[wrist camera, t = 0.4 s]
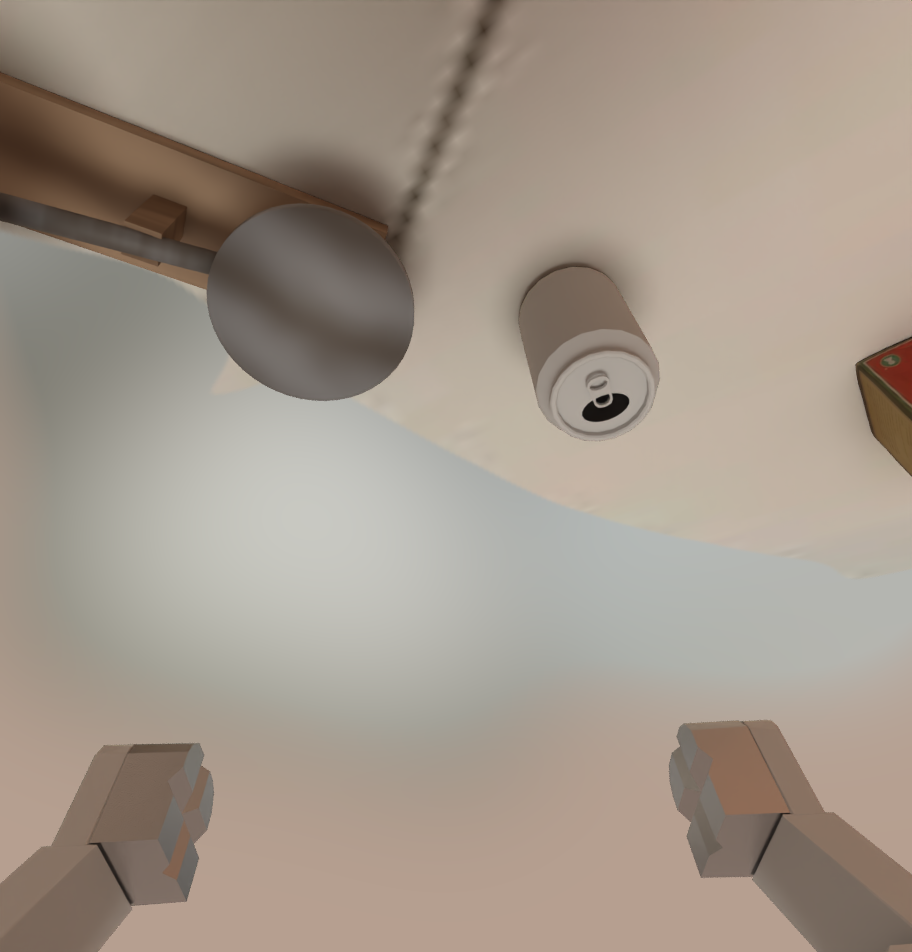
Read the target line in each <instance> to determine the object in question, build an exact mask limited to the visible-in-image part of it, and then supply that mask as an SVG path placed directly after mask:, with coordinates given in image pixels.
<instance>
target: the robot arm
mask: <svg viewBox="0 0 912 952" xmlns="http://www.w3.org/2000/svg"><path fill="white" fill-rule="evenodd" d="M677 739H678V742H679V744H680V747H679V748H678V749H676V750H675V751H674V752H673V753H672V755H671V759H670V763H669V774H670V775H669V777H670V785H671V790H672V794H673V798H674V801H675V803H676V807H677V810H679V812H680V813H681V814H683V815H684V816H685V817H686V818H687V819H688V820H689V821H690V822H691V825H690V827H689V831H688V834H687V839H688V842H689V844H690V848H691V850H692V853H693V856H694V859H695V862H696V865H697V867H698V870H699V873H700V876H701V878H703V877H704V878H705V877H753V879H752V880H753V881H754V882H755V883H756V884H757V885H758V887H759V888H760V889H761V890H762V891H763V892H764V893H765V894H766V895H767V897H768V898H769V899H770V900H771V901H772V902H773V903H774V904H775V905H776V907H777V908H778V909H779V910H780V911H781V912H782V913H783V914H784V915H785V916H786V918H787V919H788V920H789V921H790V922H791V923H792V924H793V925H794V926H795V928H796V929H797V930H798V931H799V932H800V933H801V934H802V935H803V936H804V938H806V940H807V941H808V942H809V943H810V944H811V945H812V946H813V948H814V949H816V951H817V952H912V875H911V874H910V873H909V872H908V871H907V870H905V869H904V868H903V867H902V866H900V865H899V864H898V863H897V862H895V861H894V860H893V859H892V858H890V857H889V856H888V855H887V854H885V853H884V852H883V851H882V850H880V849H879V848H878V847H876V846H875V845H874V844H873V843H872V842H870V841H869V840H868V839H867V838H865V837H864V836H863V835H861V834H860V833H859V832H858V831H856V830H855V829H854V828H852V826H850V825H849V824H848V823H847V822H845V821H844V820H843V819H841V818H840V817H839V816H838V815H836V814H835V813H833V812H832V813H831V812H830V813H829V812H828V813H827V812H824V810H823V808H822V806H821V804H820V803H819V801H818V799H817V797H816V795H815V793H814V792H813V790H812V788H811V786H810V784H809V782H808V781H807V779H806V777H805V775H804V773H803V772H802V770H801V768H800V766H799V764H798V762H797V760H796V759H795V757H794V755H793V753H792V751H791V750H790V748H789V746H788V744H787V742H786V741H785V739H784V737H783V735H782V733H781V731H780V729H779V728H778V726H777V725H776V724H775V723H774V722H772V721H770V720H757V721H720V722H705V723H704V722H703V723H685V724H683V725H681V726H680V727H679V730H678V734H677ZM203 757H204V753H203V751H202V748H201V746H200V744H199V743H178V744H177V743H176V744H128V745H104V746H103V747H102V748H101V749H100V750H99V752H98V753H97V754H96V755H95V756H94V758H93V760H92V762H91V764H90V767H89V769H88V771H87V773H86V775H85V777H84V779H83V781H82V783H81V785H80V787H79V789H78V791H77V794H76V796H75V798H74V800H73V802H72V804H71V806H70V808H69V810H68V812H67V814H66V817H65V818H64V821H63V823H62V825H61V827H60V829H59V831H58V833H57V835H56V837H55V840H54V841H53V843H52V846H46V847H41V848H40V849H39V850H37V851H36V852H35V853H34V854H33V855H32V856H31V857H30V858H28V859H27V860H26V861H25V862H24V863H23V864H22V865H21V866H20V867H18V868H17V869H16V870H15V871H14V872H13V873H12V874H11V875H9V876H8V877H7V878H6V879H5V880H4V881H3V882H2V883H1V884H0V952H98V951H99V950H100V949H101V947H102V946H103V945H104V944H105V942H106V941H107V940H108V939H109V937H110V936H111V935H112V934H113V932H114V931H115V930H116V929H117V928H118V926H119V925H120V924H121V922H122V921H123V920H124V919H125V918H126V916H127V915H128V914H129V913H130V911H131V910H132V907H131V906H135V905H148V904H161V903H173V902H174V903H175V902H186V901H187V898H188V894H189V891H190V888H191V884H192V881H193V877H194V874H195V870H196V867H197V863H198V859H199V857H198V854H197V851H196V849H195V846H194V843H195V842H196V841H197V840H198V839H199V838H200V837H201V836H202V835H203V834H204V833H205V832H206V830H207V828H208V824H209V821H210V817H211V813H212V806H213V796H214V790H213V780H212V776H211V774H210V771H209V770H207V769H205V768H204V767H203V766H201V764H202V761H203Z"/></svg>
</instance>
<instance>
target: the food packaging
mask: <svg viewBox="0 0 912 952" xmlns="http://www.w3.org/2000/svg"><path fill="white" fill-rule="evenodd" d="M856 372H857V378H858V383H859V387H860V390H861V393H862V397H863V401H864V405H865V409H866V413H867V417H868V420H869V424H870V428H871V431H872V434H873V435H874V437H875V438H876V439H877V440H878V441H879V442H880V443H881V444H882V445H883V446H884V447H885V448H886V449H887V451H888V452H889V453H890V454H891V455H892V456H893V457H894V458H895V460H896V461H897V462H898V463H899V464H900V465H901V466H902V467H903V468H904V469H905V470H906V471H907V472H908V473H909V474H910V475H911V476H912V338H910V339H908V340H905V341H903V342H900V343H898V344H896V345H894V346H891V347H889V348H887V349H885V350H882V351H880V352H878V353H876V354H874V355H872V356H870V357H868V358H866V359H864V360H862V361H860V362H858V363H857V364H856Z"/></svg>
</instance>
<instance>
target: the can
mask: <svg viewBox="0 0 912 952" xmlns="http://www.w3.org/2000/svg"><path fill="white" fill-rule="evenodd" d="M519 328H520V333H521V337H522V341H523V345H524V349H525V353H526V357H527V361H528V365H529V369H530V373H531V377H532V381H533V385H534V389H535V393H536V397H537V401H538V405H539V408H540V409H541V411H542V413H543V414H544V416H545V417H546V419H547V420H548V421H549V422H550V423H552V424H553V425H555V426H556V427H557V428H559V429H560V430H562V431H564V432H566V433H567V434H568V435H570V436H572V437H575V438H578V439H581V440H584V441H603V440H607V439H612V438H616V437H618V436H620V435H622V434H624V433H626V432H628V431H630V430H632V429H633V428H634V427H635V426H636V425H638V424H639V423H640V422H641V421H642V420H643V419H644V418H645V416H646V415H647V413H648V412H649V411H650V409H651V408H652V405H653V402H654V398H655V395H656V391H657V387H658V384H659V381H660V374H659V362H658V360H657V358H656V356H655V354H654V352H653V350H652V348H651V346H650V344H649V343H648V341H647V339H646V337H645V336H644V334H643V332H642V330H641V329H640V327H639V325H638V323H637V322H636V320H635V318H634V316H633V315H632V313H631V311H630V309H629V308H628V306H627V304H626V302H625V301H624V299H623V297H622V296H621V294H620V292H619V290H618V289H617V287H616V285H615V284H614V283H613V282H612V281H611V280H610V279H609V278H608V277H607V276H606V275H605V274H603V273H601V272H598V271H596V270H593V269H591V268H586V267H569V268H565V269H561V270H557V271H554V272H552V273H551V274H549V275H547V276H546V277H544V278H542V279H541V280H539V281H538V282H537V283H536V285H535V286H534V287H533V288H532V289H531V290H530V291H529V292H528V294H527V296H526V298H525V300H524V302H523V304H522V306H521V309H520V316H519Z"/></svg>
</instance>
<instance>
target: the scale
mask: <svg viewBox="0 0 912 952" xmlns="http://www.w3.org/2000/svg"><path fill="white" fill-rule="evenodd" d="M0 221H4V222H8V223H12V224H15V225H19V226H22V227H25V228H27V229H30V230H33V231H36V232H39V233H42V234H45V235H48V236H51V237H54V238H57V239H60V240H63V241H65V242H68V243H71V244H74V245H77V246H80V247H83V248H86V249H89V250H92V251H95V252H98V253H101V254H104V255H106V256H109V257H112V258H115V259H118V260H121V261H124V262H127V263H130V264H133V265H136V266H139V267H142V268H145V269H147V270H150V271H153V272H156V273H159V274H162V275H165V276H168V277H171V278H174V279H177V280H180V281H183V282H186V283H188V284H191V285H194V286H197V287H200V288H203V289H206V290H207V305H208V310H209V315H210V319H211V322H212V325H213V328H214V330H215V332H216V334H217V336H218V338H219V340H220V342H221V344H222V345H223V346H224V348H225V350H226V351H227V353H228V354H229V355H230V356H231V358H232V359H233V360H234V361H235V362H236V363H237V364H238V365H239V366H240V367H241V368H242V369H243V370H244V371H245V372H246V373H248V374H249V375H250V376H252V377H253V378H254V379H256V380H257V381H259V382H260V383H262V384H264V385H265V386H267V387H269V388H271V389H273V390H275V391H278V392H281V393H283V394H286V395H289V396H293V397H296V398H300V399H307V400H318V401H329V400H339V399H344V398H349V397H352V396H356V395H359V394H361V393H363V392H366V391H368V390H370V389H372V388H373V387H375V386H376V385H378V384H380V383H381V382H382V381H383V380H385V379H386V378H387V377H388V376H389V375H390V374H391V373H392V372H393V371H394V370H395V369H396V368H397V366H398V365H399V363H400V362H401V360H402V359H403V357H404V355H405V353H406V351H407V349H408V346H409V343H410V340H411V337H412V332H413V326H414V300H413V292H412V288H411V284H410V280H409V278H408V275H407V273H406V271H405V268H404V266H403V265H402V263H401V261H400V259H399V257H398V256H397V255H396V253H395V252H394V250H393V249H392V248H391V246H390V245H389V244H388V243H387V242H386V241H385V238H386V235H387V231H388V226H387V225H385V224H382V223H379V222H377V221H374V220H372V219H369V218H367V217H364V216H362V215H359V214H357V213H354V212H352V211H349V210H347V209H344V208H342V207H339V206H337V205H334V204H332V203H329V202H326V201H324V200H321V199H319V198H316V197H314V196H311V195H309V194H306V193H304V192H301V191H299V190H296V189H294V188H291V187H289V186H286V185H284V184H281V183H278V182H276V181H273V180H271V179H268V178H266V177H263V176H261V175H258V174H256V173H253V172H251V171H248V170H246V169H243V168H241V167H238V166H236V165H233V164H230V163H228V162H225V161H223V160H220V159H218V158H215V157H213V156H210V155H208V154H205V153H203V152H200V151H198V150H195V149H193V148H190V147H188V146H185V145H183V144H180V143H177V142H175V141H172V140H170V139H167V138H165V137H162V136H160V135H157V134H155V133H152V132H150V131H147V130H145V129H142V128H140V127H137V126H135V125H132V124H129V123H127V122H124V121H122V120H119V119H117V118H114V117H112V116H109V115H107V114H104V113H102V112H99V111H97V110H94V109H92V108H89V107H87V106H84V105H81V104H79V103H76V102H74V101H71V100H69V99H66V98H64V97H61V96H59V95H56V94H54V93H51V92H49V91H46V90H44V89H41V88H39V87H36V86H34V85H31V84H28V83H26V82H23V81H21V80H18V79H16V78H13V77H11V76H8V75H6V74H3V73H1V72H0Z"/></svg>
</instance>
